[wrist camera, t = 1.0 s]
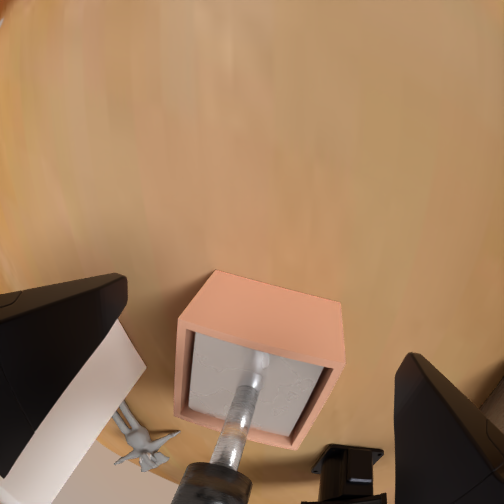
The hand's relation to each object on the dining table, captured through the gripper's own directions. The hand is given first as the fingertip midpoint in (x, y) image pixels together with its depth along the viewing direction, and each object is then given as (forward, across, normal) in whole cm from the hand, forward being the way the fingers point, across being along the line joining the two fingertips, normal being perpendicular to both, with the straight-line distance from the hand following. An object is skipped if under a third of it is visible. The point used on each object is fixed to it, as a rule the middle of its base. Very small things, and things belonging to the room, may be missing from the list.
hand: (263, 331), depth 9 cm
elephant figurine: (+12, +11, +28) cm, 32 cm away
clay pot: (+12, 0, +9) cm, 15 cm away
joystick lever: (+6, 0, +9) cm, 11 cm away
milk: (+12, +14, +16) cm, 24 cm away
